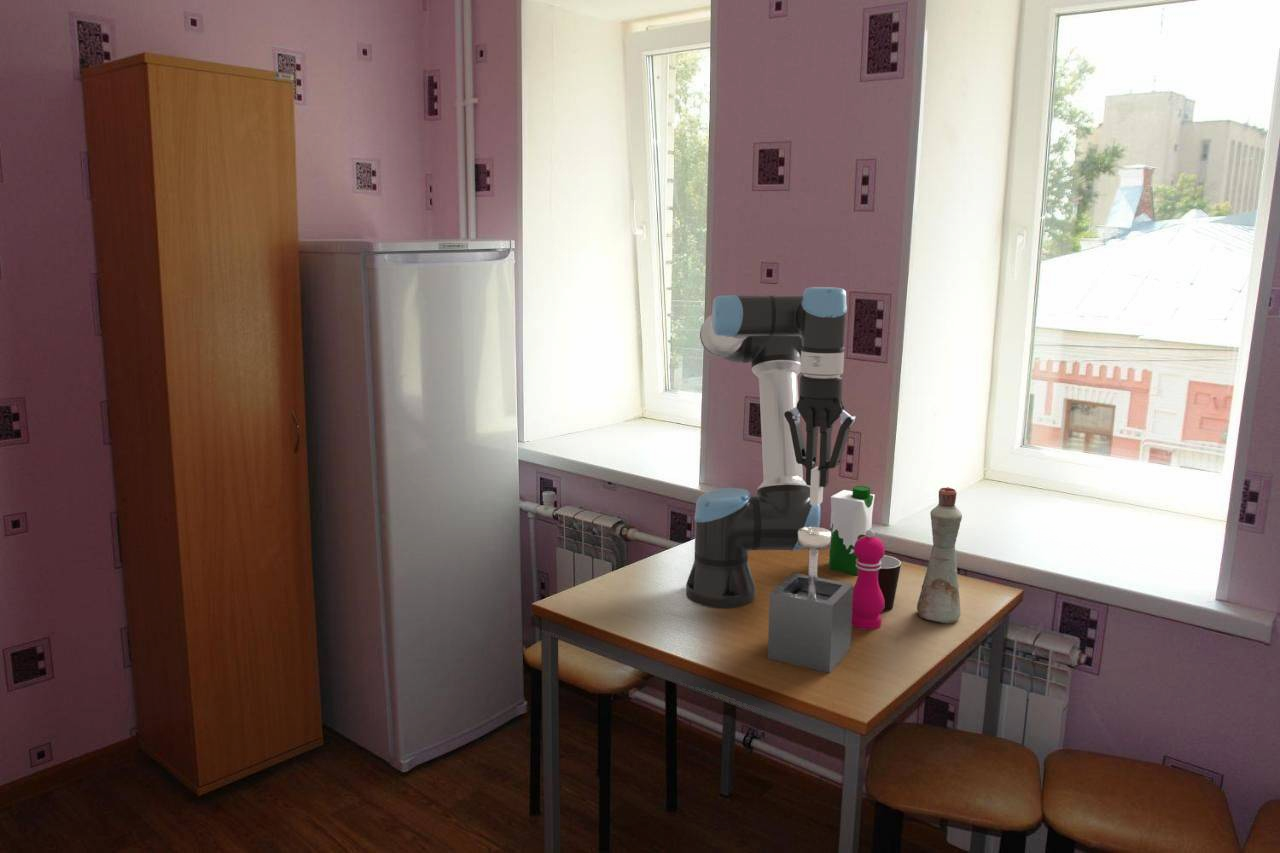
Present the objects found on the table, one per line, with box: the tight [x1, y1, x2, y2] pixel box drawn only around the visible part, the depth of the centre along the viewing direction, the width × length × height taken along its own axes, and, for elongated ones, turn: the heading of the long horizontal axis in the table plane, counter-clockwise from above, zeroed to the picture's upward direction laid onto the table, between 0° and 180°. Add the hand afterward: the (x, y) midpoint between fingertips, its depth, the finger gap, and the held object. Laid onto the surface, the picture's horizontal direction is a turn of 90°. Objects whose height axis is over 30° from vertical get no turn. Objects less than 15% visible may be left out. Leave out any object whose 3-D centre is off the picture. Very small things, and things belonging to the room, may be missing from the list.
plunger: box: [796, 526, 831, 601], centre depth 175 cm, size 8×8×15 cm
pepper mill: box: [851, 528, 886, 631], centre depth 190 cm, size 7×7×20 cm
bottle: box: [916, 486, 963, 625], centre depth 193 cm, size 9×9×28 cm
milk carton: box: [828, 485, 876, 576], centre depth 222 cm, size 9×9×20 cm
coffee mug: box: [878, 554, 902, 613], centre depth 202 cm, size 12×9×10 cm
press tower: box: [767, 572, 855, 674], centre depth 177 cm, size 12×12×13 cm
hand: (816, 503), depth 172 cm, fingers closed
